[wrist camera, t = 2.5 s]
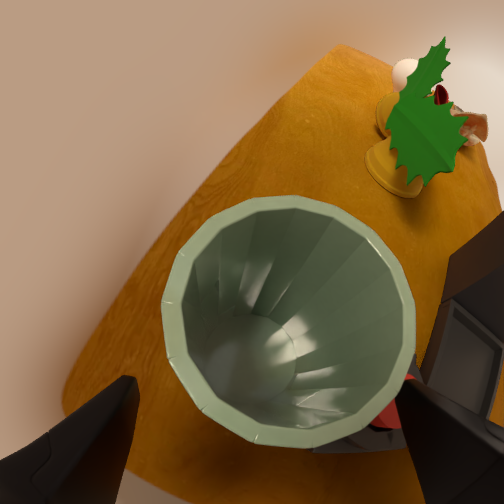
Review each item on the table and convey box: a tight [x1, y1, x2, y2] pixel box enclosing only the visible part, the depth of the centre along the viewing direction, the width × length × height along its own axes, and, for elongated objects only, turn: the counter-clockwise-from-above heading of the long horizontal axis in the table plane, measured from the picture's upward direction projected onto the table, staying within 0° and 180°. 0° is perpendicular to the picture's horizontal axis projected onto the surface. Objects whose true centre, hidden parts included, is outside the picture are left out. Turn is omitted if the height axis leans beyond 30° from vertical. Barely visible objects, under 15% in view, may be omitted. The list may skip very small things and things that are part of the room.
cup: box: [161, 195, 416, 449], centre depth 12 cm, size 7×7×12 cm
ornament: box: [365, 37, 469, 198], centre depth 23 cm, size 21×8×15 cm, turn 160°
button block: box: [307, 354, 424, 453], centre depth 14 cm, size 7×7×4 cm
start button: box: [370, 374, 416, 429], centre depth 12 cm, size 3×3×2 cm
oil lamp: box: [450, 106, 488, 146], centre depth 33 cm, size 9×21×10 cm, turn 145°
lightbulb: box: [392, 58, 434, 96], centre depth 30 cm, size 6×6×11 cm
